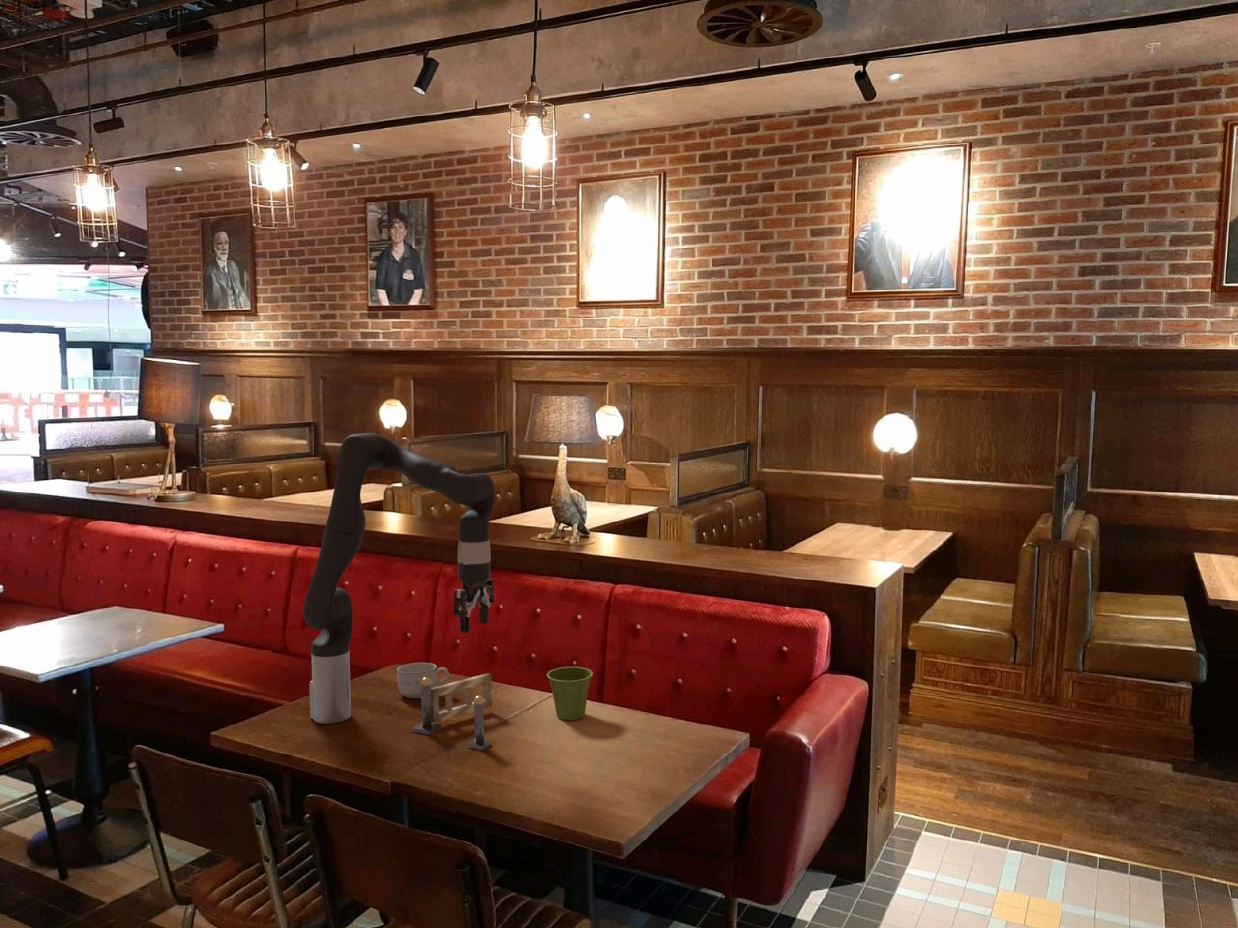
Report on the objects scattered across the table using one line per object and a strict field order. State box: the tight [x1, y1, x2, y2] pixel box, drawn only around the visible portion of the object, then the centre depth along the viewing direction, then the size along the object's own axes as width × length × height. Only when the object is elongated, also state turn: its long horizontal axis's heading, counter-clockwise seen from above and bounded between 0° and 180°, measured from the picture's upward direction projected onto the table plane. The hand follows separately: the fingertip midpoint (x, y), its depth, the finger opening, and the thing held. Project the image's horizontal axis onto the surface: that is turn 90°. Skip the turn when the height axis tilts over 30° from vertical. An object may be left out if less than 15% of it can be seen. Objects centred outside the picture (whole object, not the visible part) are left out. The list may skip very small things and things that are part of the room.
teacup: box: [396, 662, 450, 699], centre depth 252 cm, size 14×11×8 cm
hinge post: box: [411, 677, 442, 736], centre depth 227 cm, size 5×5×13 cm
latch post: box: [467, 695, 492, 751], centre depth 217 cm, size 4×4×12 cm
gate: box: [431, 672, 493, 724], centre depth 234 cm, size 17×2×8 cm, turn 134°
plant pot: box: [546, 666, 594, 721], centre depth 236 cm, size 12×12×11 cm
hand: (474, 627), depth 215 cm, fingers open, 8 cm apart
